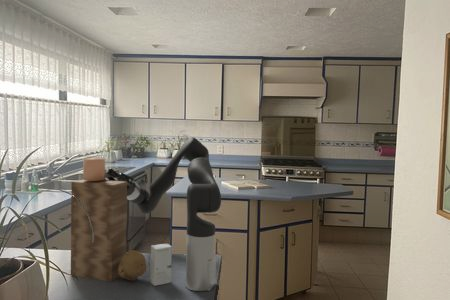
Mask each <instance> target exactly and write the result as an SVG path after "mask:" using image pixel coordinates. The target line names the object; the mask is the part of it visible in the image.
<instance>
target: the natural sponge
mask: <svg viewBox="0 0 450 300" xmlns="http://www.w3.org/2000/svg"><path fill="white" fill-rule="evenodd" d="M147 268H148V265H147V261H146V258H145V255H144V254H143V253H142V252H141V251H139V250H135V249H133V250H128V251H126V253H125V254H124V255H123V257H122V258H121V261H120V264H119V267H118V274H119V277H121V278H123V279H126V280H127V281H135V280H137V279H138V278H139V277H141V276H143V275H144V274H145V273H146V272H147V270H148V269H147Z"/></svg>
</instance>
